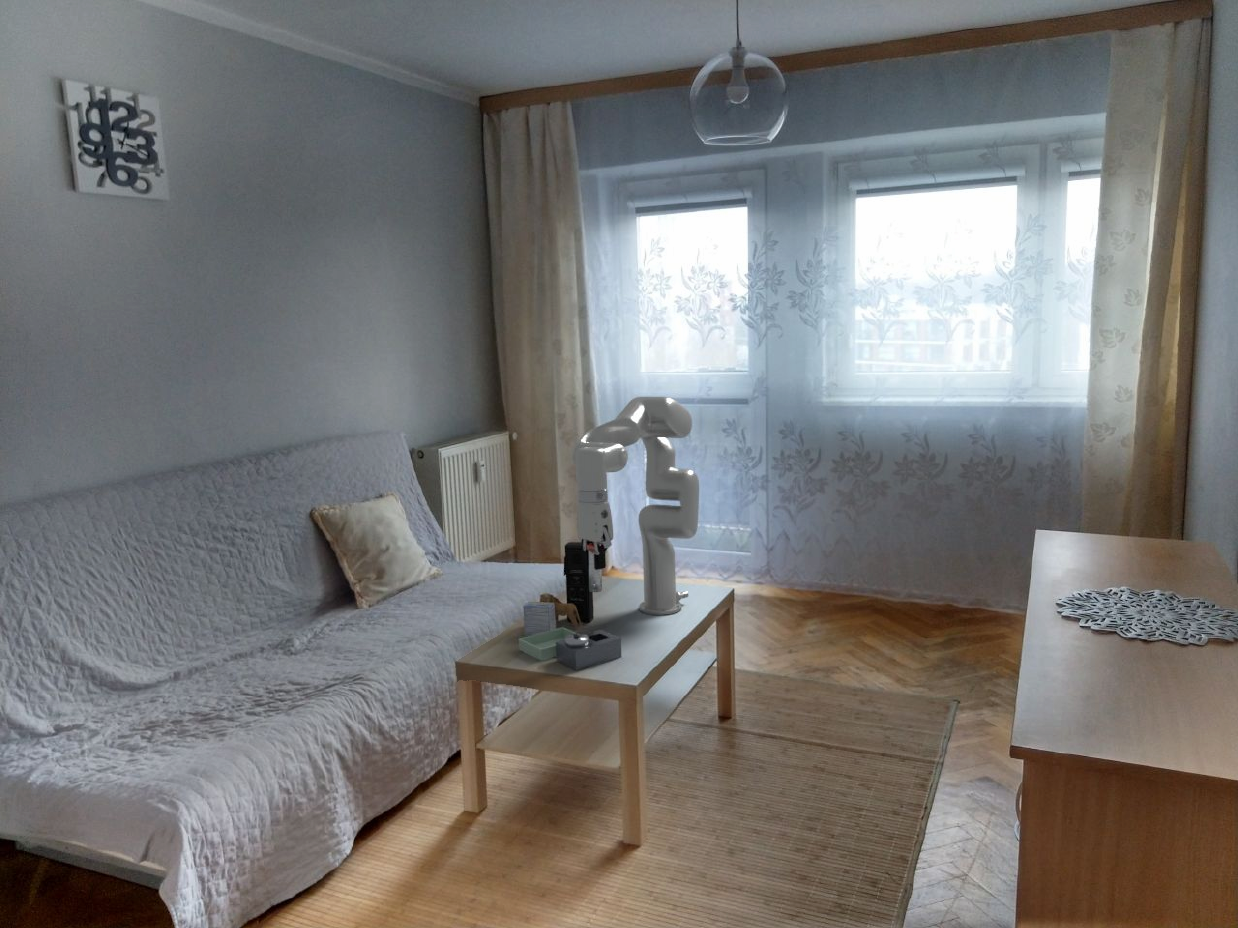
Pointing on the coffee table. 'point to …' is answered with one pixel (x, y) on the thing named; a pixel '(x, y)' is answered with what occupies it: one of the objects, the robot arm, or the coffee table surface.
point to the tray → (543, 643)
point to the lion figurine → (562, 609)
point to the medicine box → (539, 617)
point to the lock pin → (594, 571)
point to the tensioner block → (588, 649)
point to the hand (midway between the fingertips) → (595, 566)
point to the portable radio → (578, 581)
